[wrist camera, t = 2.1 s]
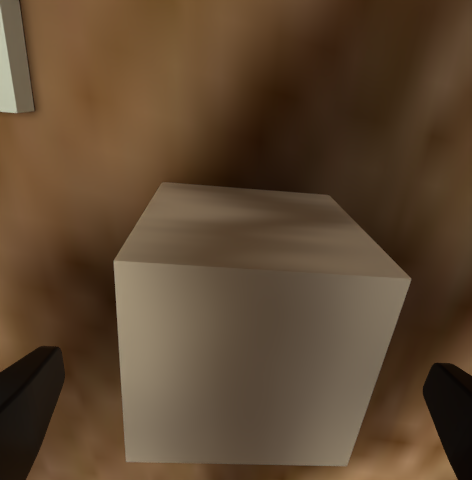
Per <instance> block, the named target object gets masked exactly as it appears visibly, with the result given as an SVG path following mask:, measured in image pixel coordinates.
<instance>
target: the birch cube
mask: <svg viewBox="0 0 472 480" xmlns="http://www.w3.org/2000/svg"><path fill="white" fill-rule="evenodd" d="M114 276H115V292H116V309H117V325H118V341H119V357H120V373H121V389H122V405H123V422H124V438H125V454H126V462H158V463H210V464H262V465H314V466H347V464H348V461H349V459H350V456H351V453H352V450H353V447H354V444H355V441H356V438H357V435H358V433H359V430H360V427H361V424H362V421H363V418H364V415H365V412H366V409H367V407H368V404H369V401H370V398H371V395H372V392H373V389H374V386H375V383H376V381H377V378H378V375H379V372H380V369H381V366H382V363H383V360H384V357H385V355H386V352H387V349H388V346H389V343H390V340H391V337H392V334H393V331H394V329H395V326H396V323H397V320H398V317H399V314H400V311H401V308H402V305H403V303H404V300H405V297H406V294H407V291H408V288H409V285H410V282H411V278H410V277H409V276H408V275H407V274H406V273H405V272H404V271H403V270H402V269H401V268H400V267H399V266H398V265H397V264H396V263H395V261H394V260H393V259H392V258H391V257H390V256H389V255H388V254H387V253H386V252H385V251H384V250H383V249H382V248H381V247H380V246H379V245H378V244H377V243H376V242H375V241H374V240H373V239H372V238H371V237H370V236H369V235H368V234H367V233H366V232H365V231H364V230H363V229H362V228H361V227H360V226H359V225H358V224H357V223H356V222H355V221H354V220H353V219H352V218H351V217H350V216H349V215H348V214H347V213H346V212H345V211H344V210H343V209H342V208H341V207H340V206H339V205H338V204H337V203H336V202H335V201H334V200H333V199H332V198H331V197H330V196H329V195H322V194H309V193H296V192H284V191H271V190H258V189H245V188H233V187H220V186H207V185H194V184H181V183H169V182H162V183H161V185H160V186H159V188H158V189H157V191H156V193H155V194H154V196H153V198H152V199H151V201H150V202H149V204H148V206H147V207H146V209H145V211H144V212H143V214H142V215H141V217H140V219H139V220H138V222H137V224H136V225H135V227H134V228H133V230H132V232H131V233H130V235H129V236H128V238H127V240H126V241H125V243H124V245H123V246H122V248H121V249H120V251H119V253H118V254H117V256H116V258H115V259H114Z"/></svg>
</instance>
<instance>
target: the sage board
mask: <svg viewBox="0 0 472 480" xmlns="http://www.w3.org/2000/svg"><path fill="white" fill-rule="evenodd" d="M30 111H34V104H33V97H32V89H31V82H30V75H29V68H28V61H27V54H26V47H25V39H24V32H23V25H22V18H21V11H20V4H19V0H0V112H10V113H22V112H30Z"/></svg>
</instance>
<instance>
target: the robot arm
mask: <svg viewBox="0 0 472 480" xmlns="http://www.w3.org/2000/svg"><path fill="white" fill-rule="evenodd" d="M64 379H65V371H64V364H63V357H62V352H61V349H60V348H59V347H56V346H41V347H38V348H37V349H35V350H34V351H32V352H31V353H29V354H28V355H26V356H24V357H23V358H21V359H20V360H18V361H17V362H15V363H14V364H12V365H11V366H9V367H8V368H6V369H5V370H3V371H2V372H0V480H26V478H27V476H28V474H29V472H30V470H31V468H32V465H33V463H34V461H35V459H36V457H37V454H38V452H39V450H40V447H41V445H42V442H43V439H44V437H45V434H46V431H47V428H48V425H49V423H50V420H51V417H52V414H53V411H54V409H55V406H56V403H57V400H58V398H59V395H60V392H61V389H62V386H63V383H64ZM423 396H424V399H425V401H426V404H427V406H428V409H429V412H430V414H431V417H432V419H433V422H434V424H435V427H436V430H437V432H438V435H439V437H440V440H441V442H442V445H443V448H444V450H445V453H446V455H447V457H448V460H449V462H450V464H451V466H452V468H453V470H454V473H455V475H456V477H457V479H458V480H472V376H471V375H469V374H468V373H466V372H465V371H463V370H461V369H460V368H458V367H457V366H455V365H453V364H450V363H435V364H433V365H432V367H431V369H430V371H429V374H428V376H427V378H426V381H425V383H424V386H423Z"/></svg>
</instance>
